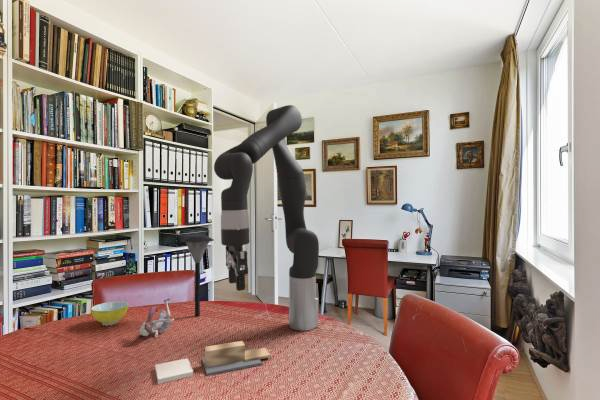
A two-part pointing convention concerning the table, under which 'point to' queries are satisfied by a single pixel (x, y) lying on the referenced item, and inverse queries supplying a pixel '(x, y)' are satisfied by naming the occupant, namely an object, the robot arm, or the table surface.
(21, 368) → the table surface
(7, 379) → the table surface
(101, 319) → the bowl
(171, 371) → the tile
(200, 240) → the solar garden light
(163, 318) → the figurine
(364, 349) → the table surface
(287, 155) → the robot arm
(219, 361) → the beige wooden bar
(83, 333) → the table surface
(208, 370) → the mat
